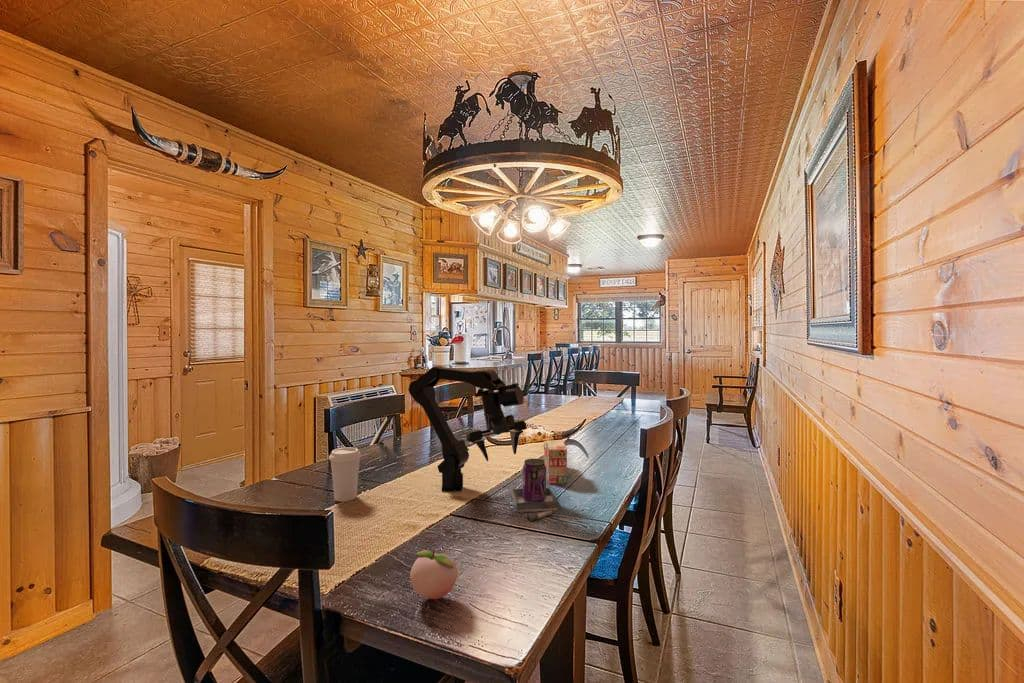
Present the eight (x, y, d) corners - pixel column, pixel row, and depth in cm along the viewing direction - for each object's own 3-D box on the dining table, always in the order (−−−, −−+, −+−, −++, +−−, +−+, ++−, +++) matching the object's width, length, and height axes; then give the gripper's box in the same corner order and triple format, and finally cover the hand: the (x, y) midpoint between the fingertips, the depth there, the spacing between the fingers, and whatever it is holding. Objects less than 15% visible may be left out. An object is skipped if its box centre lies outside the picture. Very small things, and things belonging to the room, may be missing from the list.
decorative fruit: (400, 606, 91) (400, 555, 90) (423, 584, 98) (423, 537, 98) (443, 617, 87) (443, 564, 87) (463, 594, 95) (463, 545, 95)
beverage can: (539, 506, 140) (539, 466, 140) (518, 501, 144) (518, 462, 143) (549, 498, 146) (550, 460, 146) (529, 494, 150) (529, 456, 149)
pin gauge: (531, 522, 130) (531, 515, 130) (526, 520, 131) (526, 513, 131) (553, 515, 134) (553, 508, 134) (548, 513, 136) (548, 506, 136)
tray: (516, 511, 137) (516, 503, 137) (511, 496, 149) (511, 489, 149) (557, 510, 138) (557, 501, 138) (549, 495, 151) (549, 487, 150)
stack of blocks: (543, 465, 183) (543, 434, 182) (559, 465, 183) (560, 434, 182) (548, 484, 161) (548, 448, 161) (566, 484, 161) (567, 448, 161)
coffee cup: (367, 497, 148) (366, 450, 148) (338, 506, 141) (337, 456, 141) (352, 490, 155) (351, 445, 154) (323, 498, 148) (323, 450, 147)
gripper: (469, 416, 140) (479, 468, 139) (528, 403, 145) (537, 453, 145) (462, 414, 150) (470, 463, 149) (516, 402, 156) (525, 449, 155)
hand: (501, 457), depth 149 cm, fingers open, 9 cm apart
